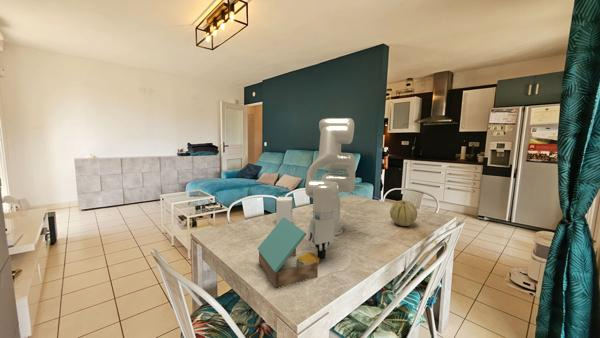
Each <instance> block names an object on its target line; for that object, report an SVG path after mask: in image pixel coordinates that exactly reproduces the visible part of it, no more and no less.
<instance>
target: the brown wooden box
mask: <svg viewBox="0 0 600 338" xmlns="http://www.w3.org/2000/svg"><path fill="white" fill-rule="evenodd" d="M291 256H293V257H296V256H297V247H296V248H295V250H294V251H293V252H292V254H291V255H290V256H289V257H288V258H292V257H291ZM259 263H260V264H259ZM258 264H259V265H260V267H261V266H262V267H261V268H262V269H264V270H263V271H264V272H266V273H265V274H266V276H267V275H268V276H269V277H268V276H267V277H268V279H269V278H270V279H271V280H270V279H269V280H270V281H272V282H273V283H272V282H271V283H272V285H273V286H274V285H275V286H274V287H275V289H276V288H277V289H280V288H283V287H282V286H284V287H287V286H290V285H289V284H291V285H293V283H294V284H297V283H296V282H298V283H301V282H304V281H307V280H306V279H308V280H311V279H314V278H313V277H315V278H317V276H319V273H318V268H319V264H318V262H317V261H316V262H312V263H308V264H304V265H301V266H298V265H297V266H293V267H289V268H286V269H285V268H284V269H281V270H278V271H277V273H276V272H275V271H274V270H273V269H272V268H271V266H270V265H269V264H268V262H267V261H266V260H265V258H264V257H263V256H262V254H261V253H260V252H259V251H258ZM310 278H311V279H310ZM303 280H304V281H303ZM300 281H301V282H300ZM286 285H287V286H286ZM279 287H280V288H279Z"/></svg>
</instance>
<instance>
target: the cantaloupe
mask: <svg viewBox="0 0 600 338" xmlns="http://www.w3.org/2000/svg"><path fill="white" fill-rule="evenodd" d="M389 216H390V218H391V220H392V221H393V222H394V223H395V224H397V225H398V226H400V227H401V226H402V227H404V226H405V227H407V226H410V225H412V224H414V223H415V221H416V220H417V218H418V209H417V207H416V206H415V205H414V204H413V203H412V202H411V201H409V200H406V199H405V200H404V199H402V200H397V201H396V202H394V203H393V204H392V206H391V208H390V210H389Z"/></svg>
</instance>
